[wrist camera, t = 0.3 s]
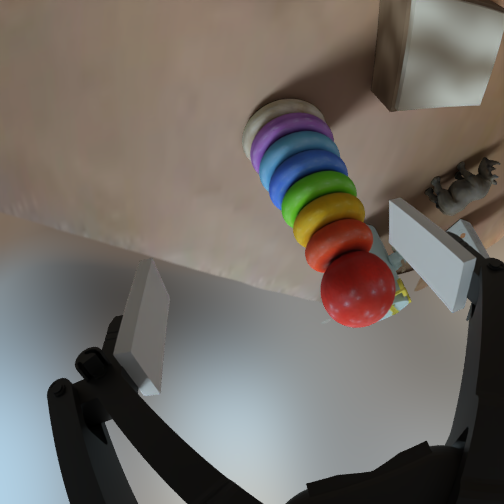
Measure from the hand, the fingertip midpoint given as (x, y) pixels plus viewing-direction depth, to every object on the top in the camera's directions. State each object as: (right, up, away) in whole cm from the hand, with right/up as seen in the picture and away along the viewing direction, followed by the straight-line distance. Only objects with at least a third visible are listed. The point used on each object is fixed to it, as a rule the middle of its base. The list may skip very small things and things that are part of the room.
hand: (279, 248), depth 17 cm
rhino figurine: (+30, +13, +23) cm, 40 cm away
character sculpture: (+16, +2, +33) cm, 37 cm away
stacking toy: (+1, +11, +11) cm, 16 cm away
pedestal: (+15, +19, +4) cm, 24 cm away
